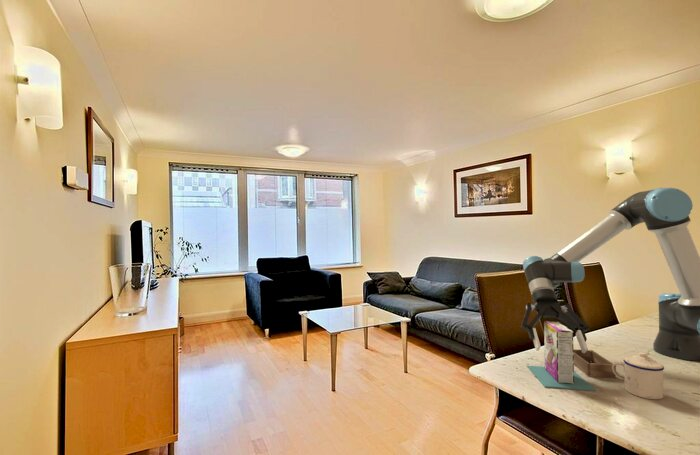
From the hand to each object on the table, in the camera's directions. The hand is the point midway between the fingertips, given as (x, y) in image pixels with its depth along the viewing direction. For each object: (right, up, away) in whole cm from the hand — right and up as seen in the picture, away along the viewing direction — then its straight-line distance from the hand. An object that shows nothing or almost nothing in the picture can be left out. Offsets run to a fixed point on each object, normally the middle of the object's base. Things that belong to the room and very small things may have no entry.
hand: (561, 350), depth 109 cm
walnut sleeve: (+16, -10, +10) cm, 21 cm away
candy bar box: (0, -10, +2) cm, 10 cm away
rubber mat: (0, -10, +2) cm, 10 cm away
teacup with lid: (+18, -10, -7) cm, 22 cm away
